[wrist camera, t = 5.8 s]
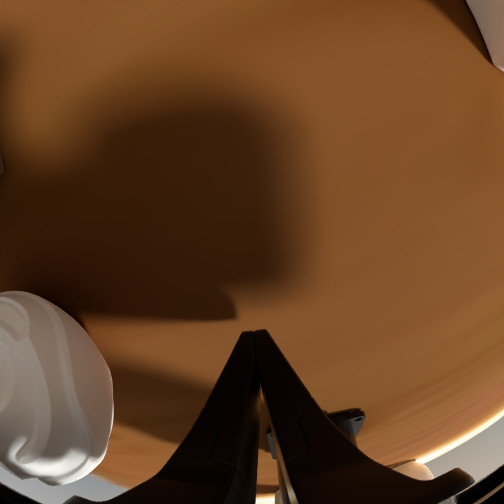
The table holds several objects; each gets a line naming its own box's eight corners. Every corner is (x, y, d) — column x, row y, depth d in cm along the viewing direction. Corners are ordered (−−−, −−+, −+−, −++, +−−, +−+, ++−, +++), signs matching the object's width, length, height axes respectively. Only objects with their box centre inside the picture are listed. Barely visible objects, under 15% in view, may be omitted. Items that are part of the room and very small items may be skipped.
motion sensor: (125, 276, 9) (43, 491, 3) (144, 389, 13) (122, 520, 6) (-16, 248, 8) (-107, 363, 2) (28, 356, 12) (-15, 456, 5)
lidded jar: (423, 451, 28) (437, 498, 19) (430, 456, 32) (442, 494, 24) (361, 478, 31) (371, 524, 23) (379, 479, 35) (388, 517, 27)
